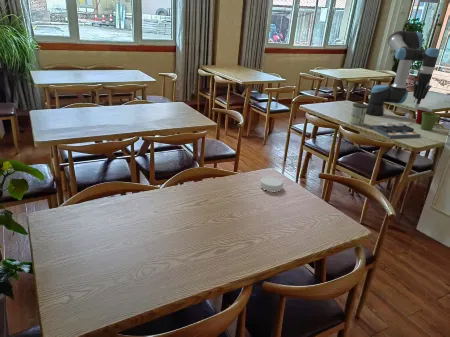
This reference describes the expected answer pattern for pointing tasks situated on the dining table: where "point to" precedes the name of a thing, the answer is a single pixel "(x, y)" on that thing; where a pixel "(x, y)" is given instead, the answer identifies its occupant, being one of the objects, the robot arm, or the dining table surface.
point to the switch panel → (374, 127)
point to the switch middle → (397, 124)
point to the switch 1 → (386, 124)
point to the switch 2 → (408, 123)
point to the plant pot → (428, 120)
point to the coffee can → (358, 114)
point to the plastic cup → (419, 114)
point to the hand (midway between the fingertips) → (415, 108)
